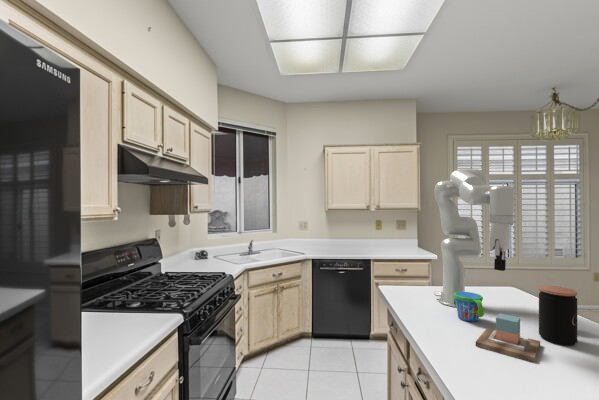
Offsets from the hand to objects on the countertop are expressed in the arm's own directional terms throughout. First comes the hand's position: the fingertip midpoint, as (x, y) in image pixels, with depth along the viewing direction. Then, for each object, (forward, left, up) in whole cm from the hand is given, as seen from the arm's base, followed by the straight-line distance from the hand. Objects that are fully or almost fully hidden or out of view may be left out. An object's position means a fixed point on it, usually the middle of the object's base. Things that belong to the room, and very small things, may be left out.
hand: (499, 269), depth 114 cm
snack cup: (-13, +11, -24) cm, 30 cm away
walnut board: (+4, -7, -24) cm, 25 cm away
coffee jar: (+16, +11, -24) cm, 31 cm away
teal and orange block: (+4, -7, -23) cm, 24 cm away
